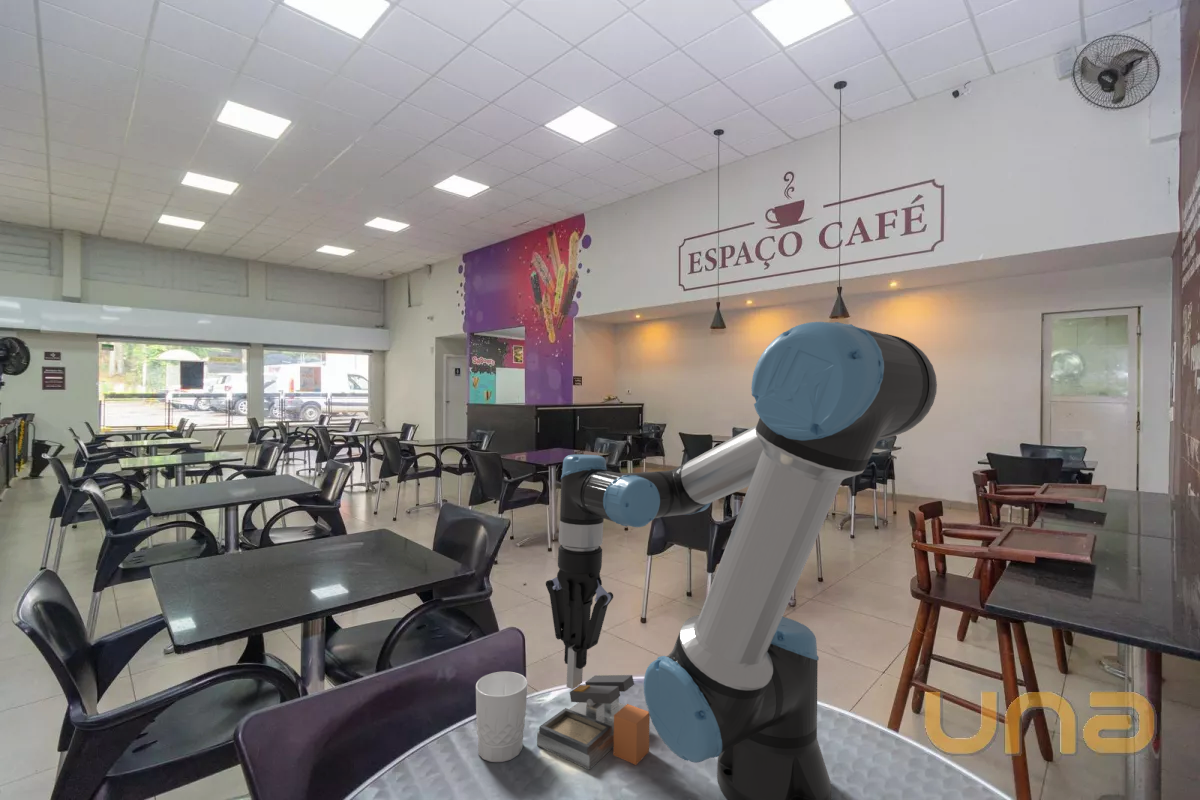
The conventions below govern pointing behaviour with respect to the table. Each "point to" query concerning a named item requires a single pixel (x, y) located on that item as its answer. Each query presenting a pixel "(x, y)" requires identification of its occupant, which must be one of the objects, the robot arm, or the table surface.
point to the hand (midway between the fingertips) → (574, 684)
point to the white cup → (500, 715)
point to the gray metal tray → (581, 732)
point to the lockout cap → (631, 734)
